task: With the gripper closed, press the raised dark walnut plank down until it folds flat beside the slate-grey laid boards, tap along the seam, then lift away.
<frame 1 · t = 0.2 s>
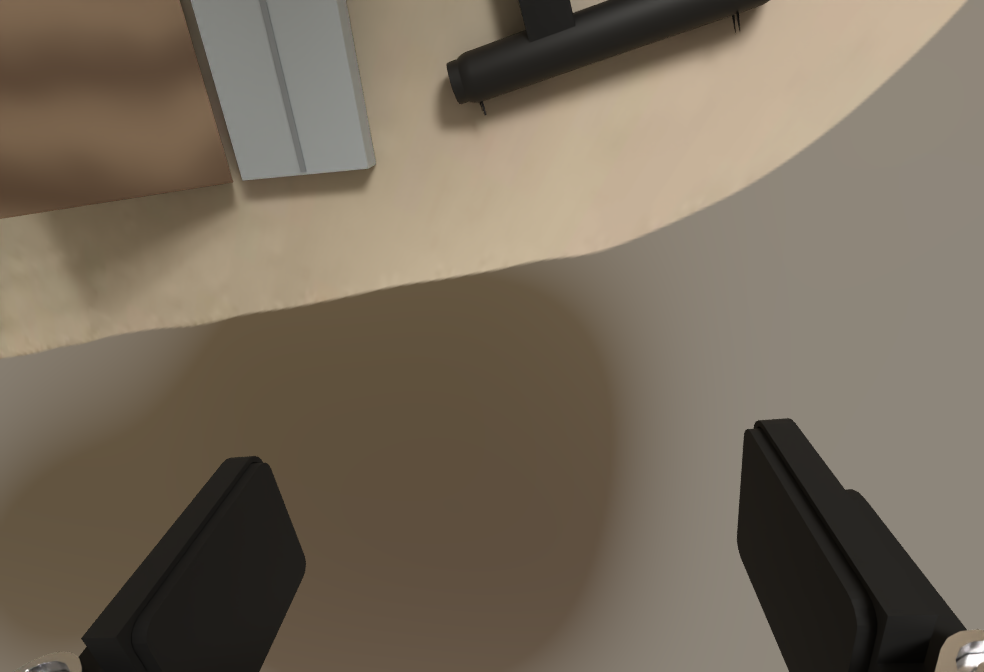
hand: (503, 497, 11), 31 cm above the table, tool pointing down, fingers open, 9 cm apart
plank: (66, 62, 32), point 5 cm above the table, hinge at 30.0°
laid boards: (286, 44, 36), on the table
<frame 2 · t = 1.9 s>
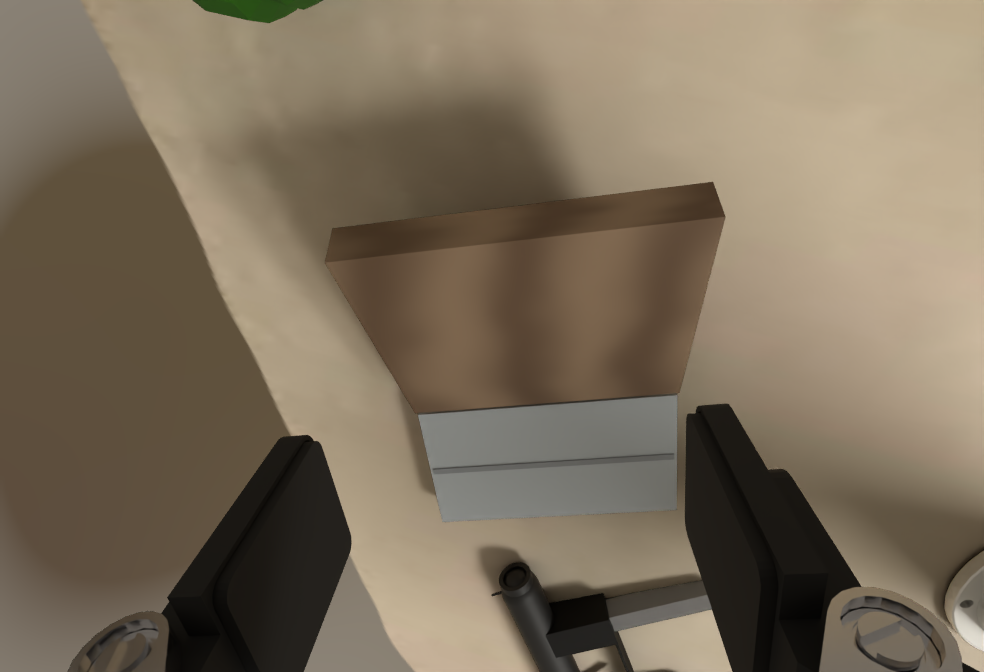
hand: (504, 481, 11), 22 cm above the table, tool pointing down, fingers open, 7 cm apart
door handle: (616, 625, 45), on the table
plank: (531, 322, 28), point 5 cm above the table, hinge at 30.0°
laid boards: (549, 444, 37), on the table
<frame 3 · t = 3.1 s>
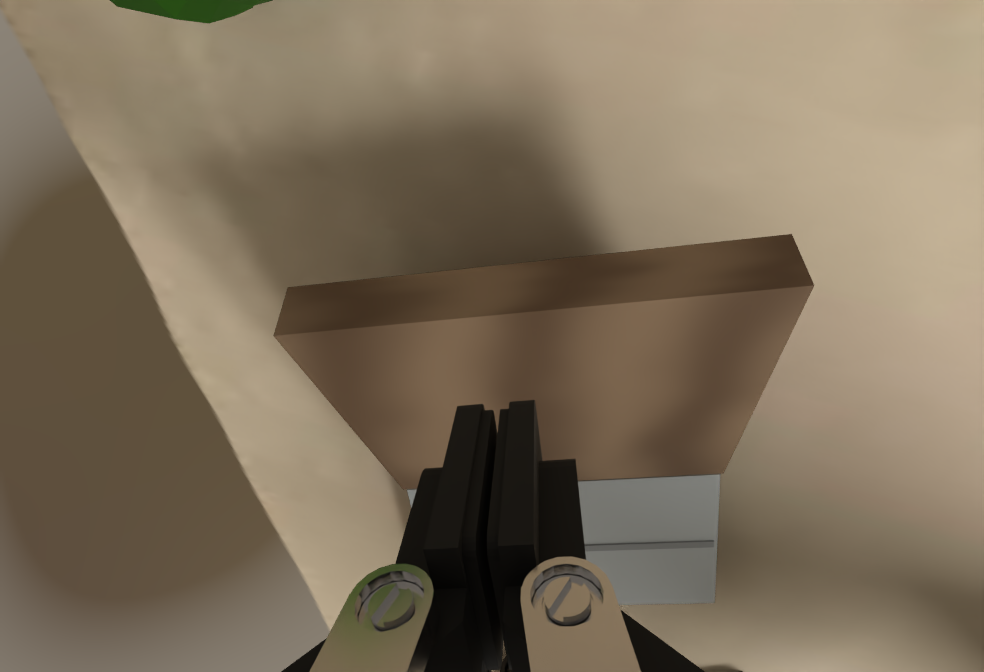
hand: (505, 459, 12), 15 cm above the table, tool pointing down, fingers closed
plank: (544, 396, 22), point 5 cm above the table, hinge at 30.0°
laid boards: (563, 521, 32), on the table
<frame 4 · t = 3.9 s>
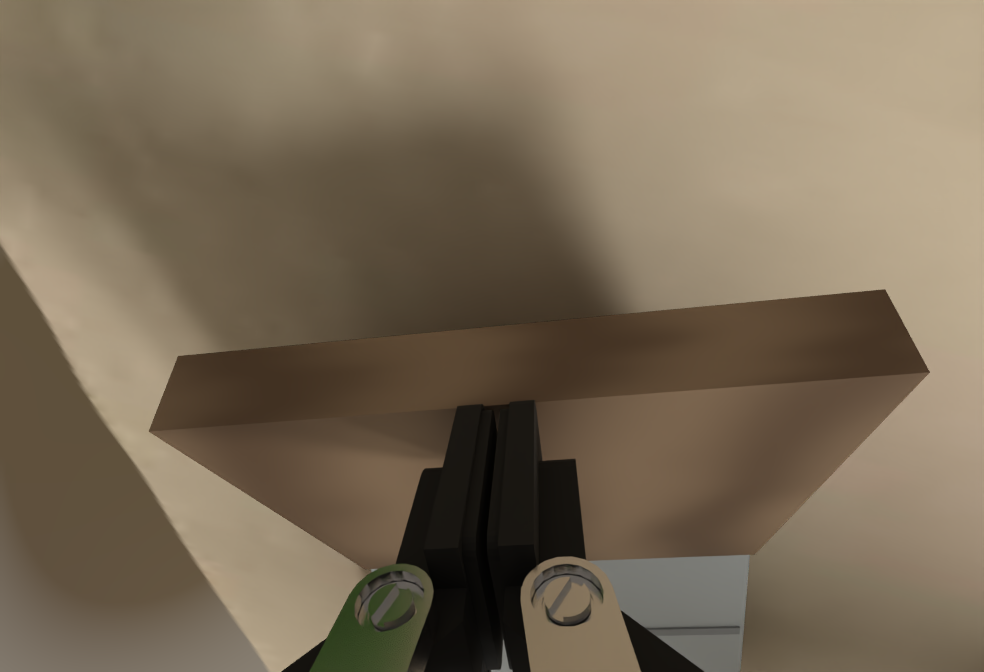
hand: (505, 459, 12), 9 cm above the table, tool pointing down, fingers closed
plank: (533, 478, 17), point 5 cm above the table, hinge at 29.9°, touching gripper
laid boards: (559, 595, 27), on the table
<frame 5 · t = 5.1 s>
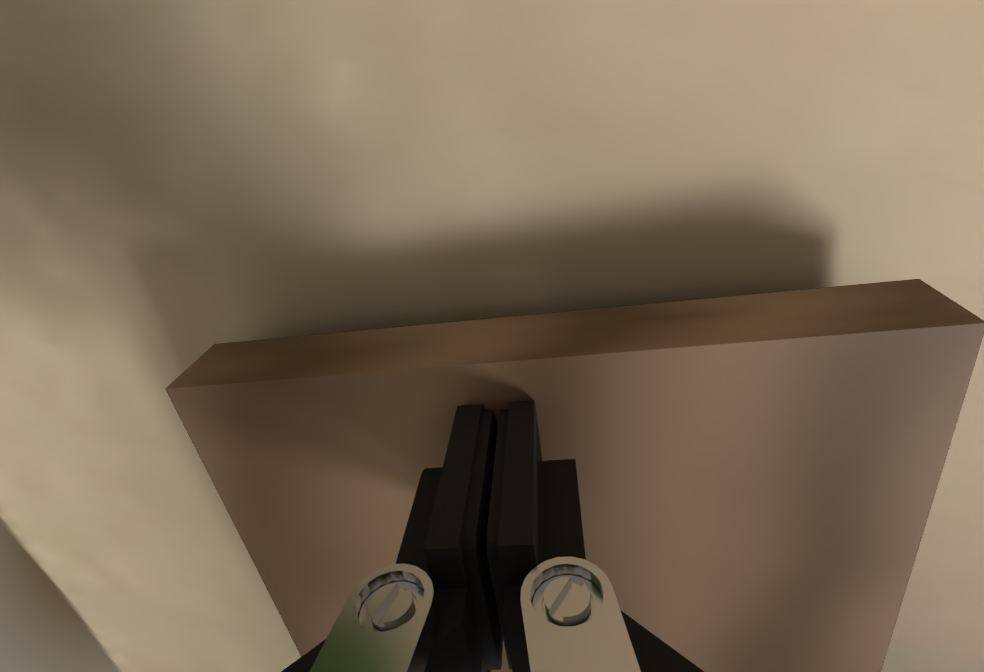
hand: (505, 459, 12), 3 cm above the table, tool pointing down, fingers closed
plank: (560, 561, 15), point 2 cm above the table, hinge at 4.1°, touching gripper
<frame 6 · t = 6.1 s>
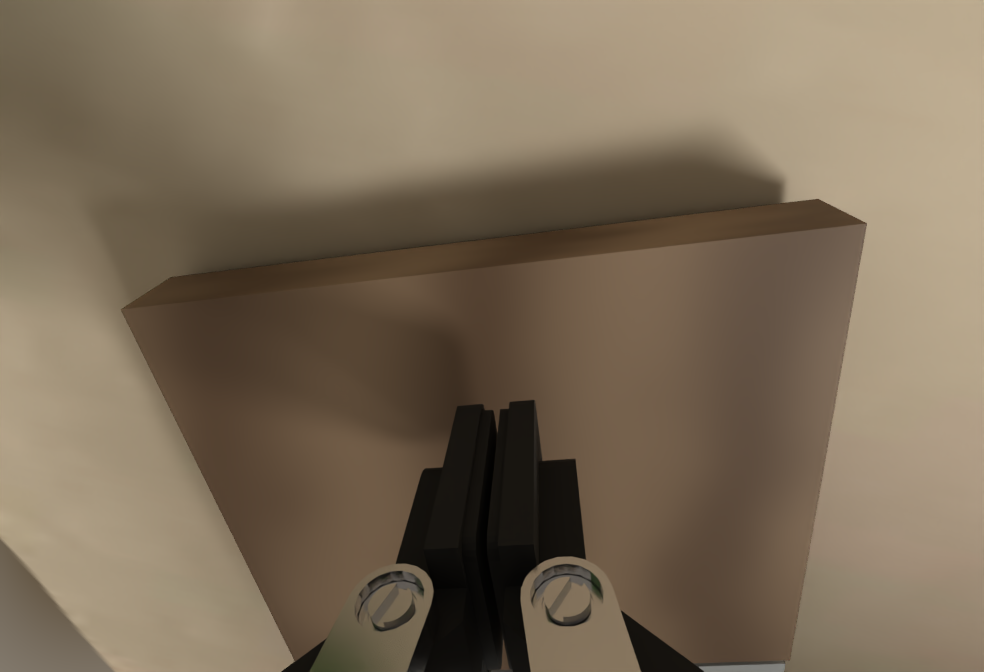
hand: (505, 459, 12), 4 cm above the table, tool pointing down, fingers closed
plank: (508, 486, 16), point 1 cm above the table, hinge at 1.3°
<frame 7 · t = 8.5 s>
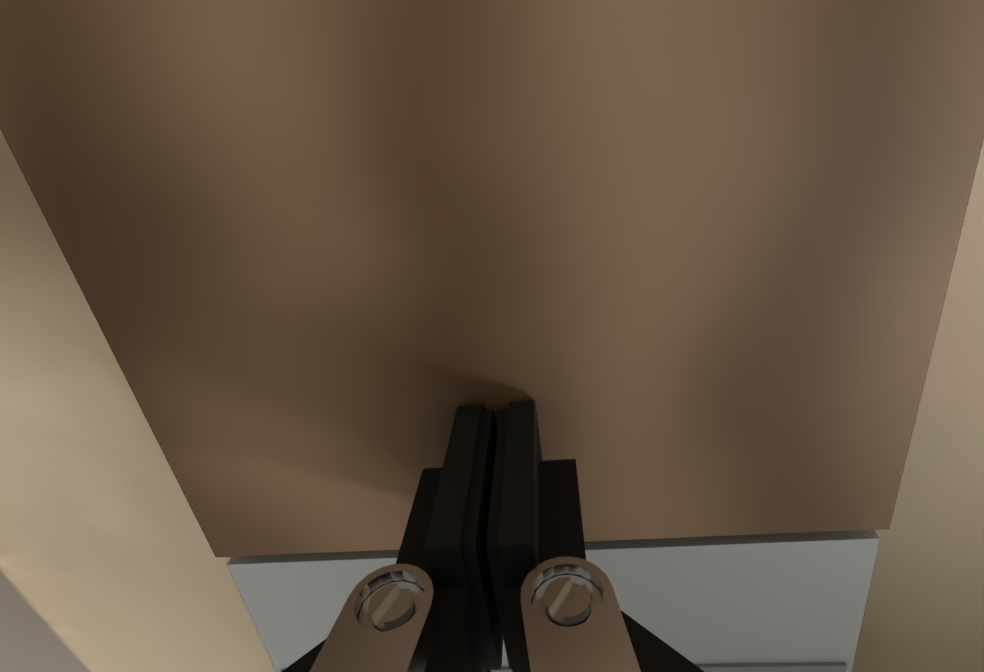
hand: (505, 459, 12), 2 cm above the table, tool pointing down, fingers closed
plank: (487, 249, 11), point 1 cm above the table, hinge at 1.2°, touching gripper
laid boards: (545, 607, 17), on the table
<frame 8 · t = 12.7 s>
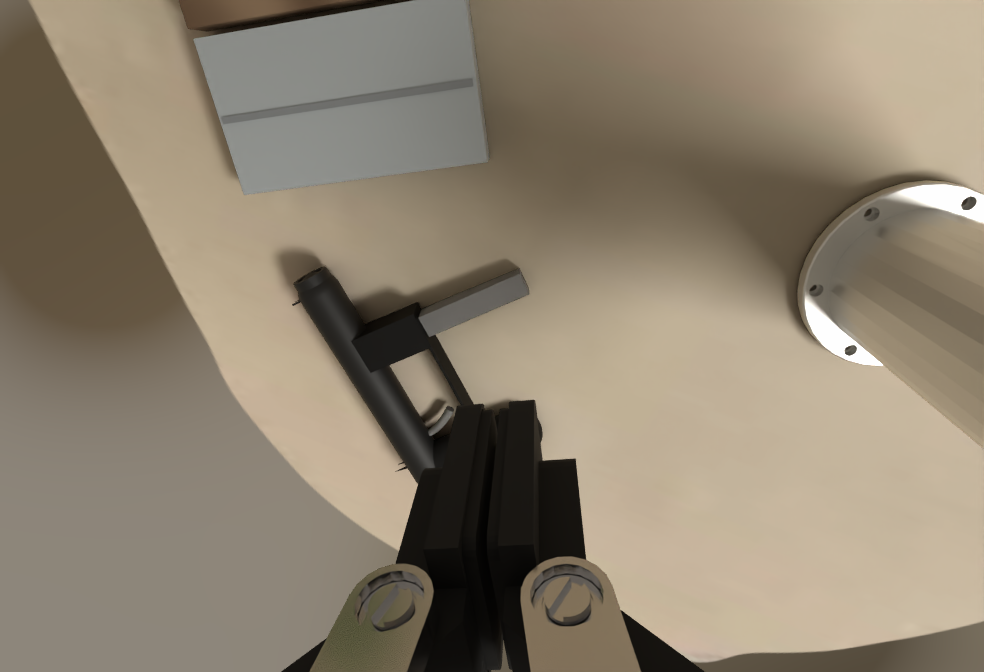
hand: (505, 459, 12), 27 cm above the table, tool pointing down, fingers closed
door handle: (446, 351, 42), on the table
laid boards: (354, 100, 34), on the table
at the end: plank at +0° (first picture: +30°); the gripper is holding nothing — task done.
